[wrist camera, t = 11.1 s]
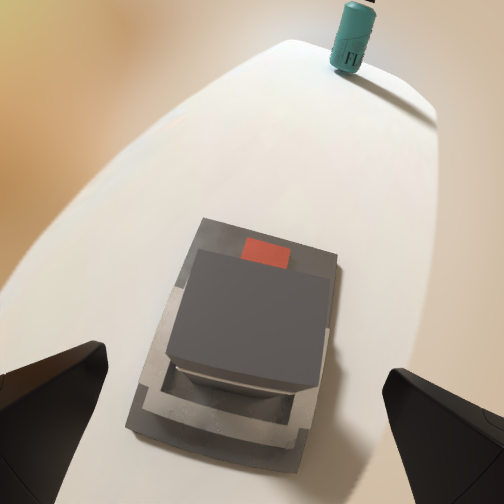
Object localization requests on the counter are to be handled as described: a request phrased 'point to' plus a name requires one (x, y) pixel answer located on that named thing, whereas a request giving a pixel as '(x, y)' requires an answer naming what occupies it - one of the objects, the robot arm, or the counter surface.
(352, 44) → the beverage bottle
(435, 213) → the counter surface
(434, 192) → the counter surface
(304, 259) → the grey socket base
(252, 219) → the counter surface
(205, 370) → the plug block
